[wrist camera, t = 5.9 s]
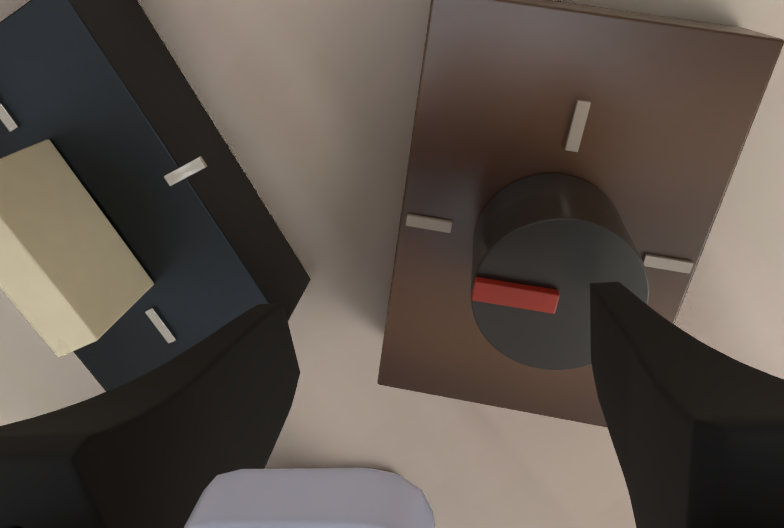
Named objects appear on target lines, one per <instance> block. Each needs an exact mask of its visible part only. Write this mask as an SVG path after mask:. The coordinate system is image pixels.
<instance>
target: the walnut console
mask: <svg viewBox="0 0 784 528" xmlns="http://www.w3.org/2000/svg"><path fill="white" fill-rule="evenodd" d="M783 44H784V40H782V39H780V38H776V37H773V36H769V35H766V34H762V33H759V32H755V31H752V30H748V29H745V28H741V27H734V26H727V25H720V24H713V23H706V22H699V21H692V20H685V19H678V18H671V17H664V16H657V15H650V14H643V13H636V12H629V11H622V10H615V9H608V8H601V7H594V6H587V5H580V4H573V3H566V2H559V1H552V0H431V6H430V13H429V20H428V27H427V34H426V41H425V49H424V56H423V63H422V70H421V77H420V84H419V91H418V98H417V105H416V112H415V119H414V127H413V134H412V141H411V148H410V155H409V162H408V169H407V176H406V183H405V190H404V197H403V205H402V212H401V219H400V226H399V233H398V240H397V247H396V254H395V261H394V268H393V275H392V283H391V290H390V297H389V304H388V311H387V318H386V325H385V332H384V339H383V346H382V353H381V361H380V368H379V375H378V384H379V385H385V386H390V387H395V388H400V389H406V390H411V391H416V392H422V393H427V394H432V395H438V396H443V397H448V398H454V399H459V400H464V401H470V402H475V403H480V404H486V405H491V406H496V407H502V408H507V409H512V410H518V411H523V412H528V413H534V414H539V415H544V416H550V417H555V418H560V419H566V420H571V421H576V422H582V423H587V424H592V425H598V426H603V427H607V424H606V421H605V418H604V415H603V412H602V409H601V406H600V403H599V400H598V396H597V391H596V386H595V381H594V375H593V370H592V364H591V365H588V366H585V367H580V368H575V369H569V370H545V369H538V368H534V367H529V366H526V365H523V364H520V363H518V362H516V361H514V360H512V359H510V358H508V357H506V356H505V355H503V354H502V353H500V352H499V351H498V350H497V349H495V348H494V347H493V346H492V345H491V344H490V343H489V342H488V341H487V340H486V338H485V337H484V336H483V334H482V333H481V331H480V329H479V328H478V326H477V324H476V321H475V319H474V316H473V312H472V307H471V276H472V257H473V239H474V231H475V228H476V224H477V221H478V219H479V217H480V215H481V213H482V211H483V209H484V208H485V206H486V205H487V204H488V203H489V201H490V200H491V199H492V198H493V197H494V196H495V195H496V194H497V193H498V192H500V191H501V190H502V189H504V188H505V187H507V186H508V185H510V184H512V183H514V182H516V181H518V180H520V179H523V178H526V177H530V176H533V175H539V174H552V173H554V174H565V175H570V176H574V177H577V178H580V179H583V180H585V181H587V182H589V183H591V184H592V185H594V186H595V187H597V188H598V189H600V190H601V191H602V192H603V193H604V194H605V195H606V196H607V197H608V198H609V199H610V201H611V202H612V203H613V205H614V207H615V208H616V210H617V212H618V214H619V216H620V218H621V220H622V222H623V224H624V226H625V228H626V230H627V232H628V234H629V235H630V237H631V239H632V241H633V243H634V245H635V247H636V249H637V251H638V253H639V255H640V257H641V259H642V261H643V264H644V266H645V269H646V271H647V275H648V280H649V290H650V294H649V303H648V306H649V307H651V308H652V309H653V310H655V311H656V312H657V313H659V314H660V315H661V316H663V317H664V318H665V319H667V320H668V321H670V322H671V323H672V324H674V323H675V320H676V317H677V315H678V312H679V310H680V307H681V305H682V302H683V300H684V297H685V294H686V292H687V289H688V287H689V284H690V282H691V279H692V277H693V274H694V271H695V269H696V266H697V264H698V261H699V259H700V256H701V254H702V251H703V248H704V246H705V243H706V241H707V238H708V236H709V233H710V231H711V228H712V225H713V223H714V220H715V218H716V215H717V213H718V210H719V208H720V205H721V202H722V200H723V197H724V195H725V192H726V190H727V187H728V184H729V182H730V179H731V177H732V174H733V172H734V169H735V167H736V164H737V161H738V159H739V156H740V154H741V151H742V149H743V146H744V144H745V141H746V138H747V136H748V133H749V131H750V128H751V126H752V123H753V121H754V118H755V115H756V113H757V110H758V108H759V105H760V103H761V100H762V98H763V95H764V92H765V90H766V87H767V85H768V82H769V80H770V77H771V75H772V72H773V69H774V67H775V64H776V62H777V59H778V57H779V54H780V52H781V49H782V46H783Z"/></svg>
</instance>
